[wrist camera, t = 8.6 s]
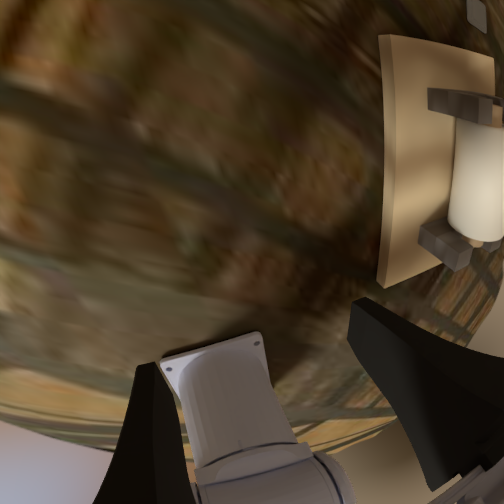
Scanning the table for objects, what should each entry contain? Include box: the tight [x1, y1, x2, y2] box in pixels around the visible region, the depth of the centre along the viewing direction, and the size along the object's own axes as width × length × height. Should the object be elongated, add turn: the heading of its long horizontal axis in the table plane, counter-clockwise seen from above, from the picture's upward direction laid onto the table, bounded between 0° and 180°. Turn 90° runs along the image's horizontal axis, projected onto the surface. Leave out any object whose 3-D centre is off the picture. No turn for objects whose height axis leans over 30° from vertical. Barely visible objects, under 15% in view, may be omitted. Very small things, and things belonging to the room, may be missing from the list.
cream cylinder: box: [447, 104, 504, 247], centre depth 18 cm, size 11×5×5 cm
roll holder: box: [376, 34, 504, 289], centre depth 19 cm, size 19×13×6 cm
